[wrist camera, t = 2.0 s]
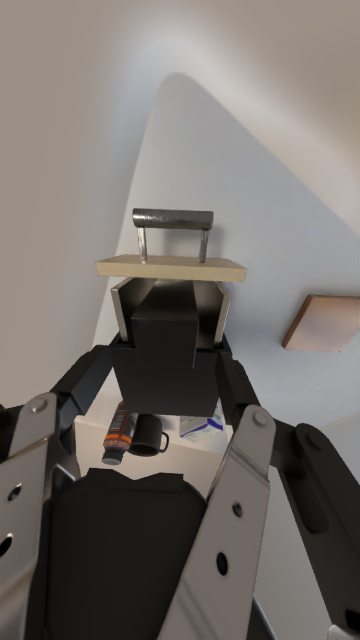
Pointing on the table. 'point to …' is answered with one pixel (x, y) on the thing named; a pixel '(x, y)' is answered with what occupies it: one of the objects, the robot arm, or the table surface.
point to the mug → (147, 437)
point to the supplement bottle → (119, 435)
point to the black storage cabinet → (167, 382)
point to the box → (200, 426)
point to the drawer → (173, 274)
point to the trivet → (324, 324)
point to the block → (167, 326)
